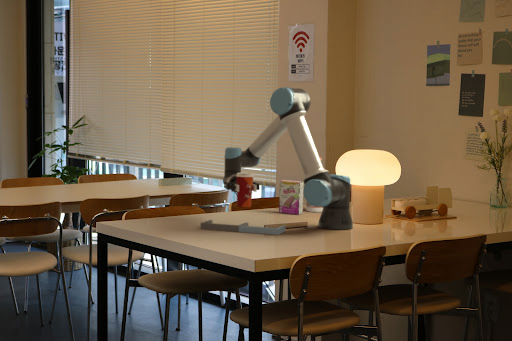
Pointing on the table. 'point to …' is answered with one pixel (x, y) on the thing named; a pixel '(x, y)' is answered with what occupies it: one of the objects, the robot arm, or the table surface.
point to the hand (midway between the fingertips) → (247, 188)
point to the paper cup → (244, 189)
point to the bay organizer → (242, 228)
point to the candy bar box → (291, 197)
